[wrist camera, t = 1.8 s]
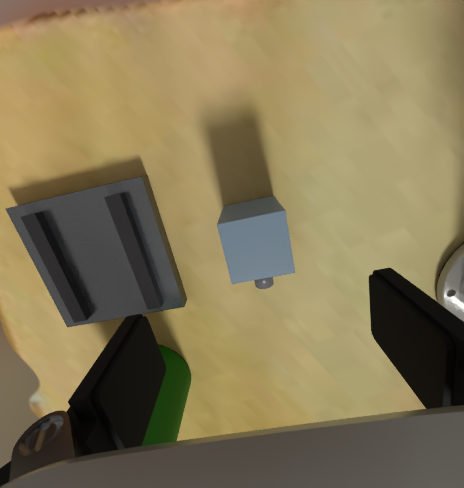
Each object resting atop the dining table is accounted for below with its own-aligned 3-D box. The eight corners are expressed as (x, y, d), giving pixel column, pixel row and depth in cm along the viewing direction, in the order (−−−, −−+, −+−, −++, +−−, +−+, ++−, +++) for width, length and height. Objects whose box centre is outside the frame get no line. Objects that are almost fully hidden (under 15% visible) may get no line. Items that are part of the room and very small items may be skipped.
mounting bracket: (147, 175, 24) (136, 177, 22) (187, 299, 29) (182, 312, 26) (18, 205, 26) (-5, 210, 23) (75, 319, 30) (61, 333, 28)
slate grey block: (273, 195, 24) (285, 210, 18) (283, 256, 26) (297, 290, 20) (223, 206, 25) (217, 224, 18) (237, 265, 27) (236, 301, 20)
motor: (111, 347, 31) (-88, 638, 12) (179, 337, 30) (77, 634, 12) (137, 406, 35) (10, 707, 16) (199, 398, 34) (145, 708, 15)
